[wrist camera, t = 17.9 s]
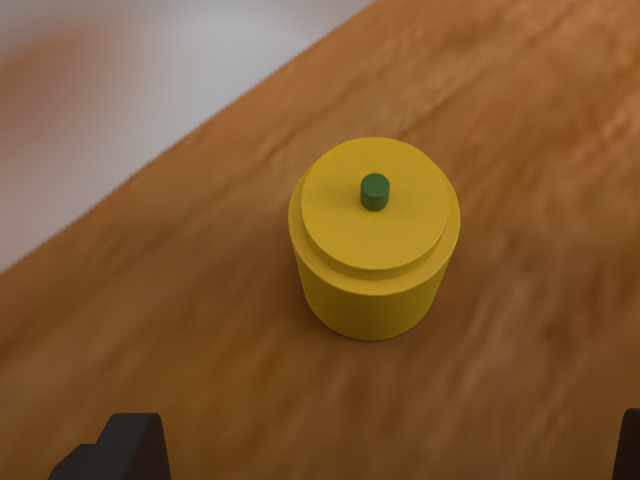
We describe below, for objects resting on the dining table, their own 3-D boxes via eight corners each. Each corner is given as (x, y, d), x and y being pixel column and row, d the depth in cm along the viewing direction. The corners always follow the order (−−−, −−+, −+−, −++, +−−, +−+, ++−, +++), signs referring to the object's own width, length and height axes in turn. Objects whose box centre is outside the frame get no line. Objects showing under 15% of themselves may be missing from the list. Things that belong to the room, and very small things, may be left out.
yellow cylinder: (282, 315, 25) (252, 240, 18) (327, 198, 27) (318, 87, 20) (415, 360, 24) (443, 300, 17) (452, 235, 26) (491, 132, 19)
